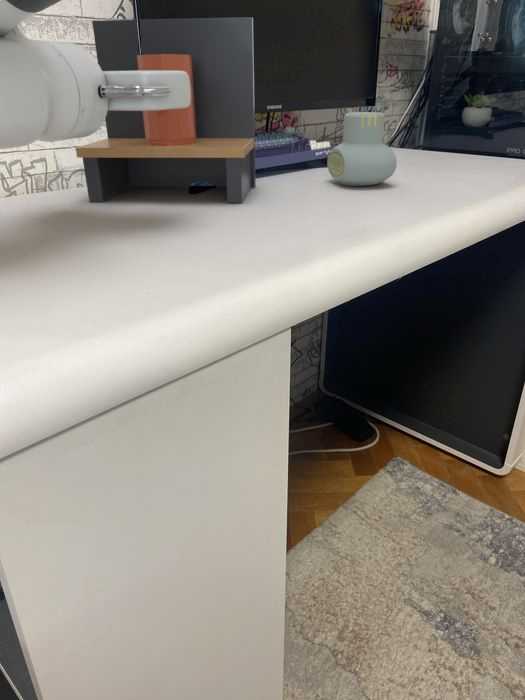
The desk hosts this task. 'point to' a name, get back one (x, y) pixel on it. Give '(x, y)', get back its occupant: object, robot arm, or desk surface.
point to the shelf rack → (209, 101)
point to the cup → (174, 122)
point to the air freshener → (362, 151)
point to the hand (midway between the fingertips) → (138, 88)
